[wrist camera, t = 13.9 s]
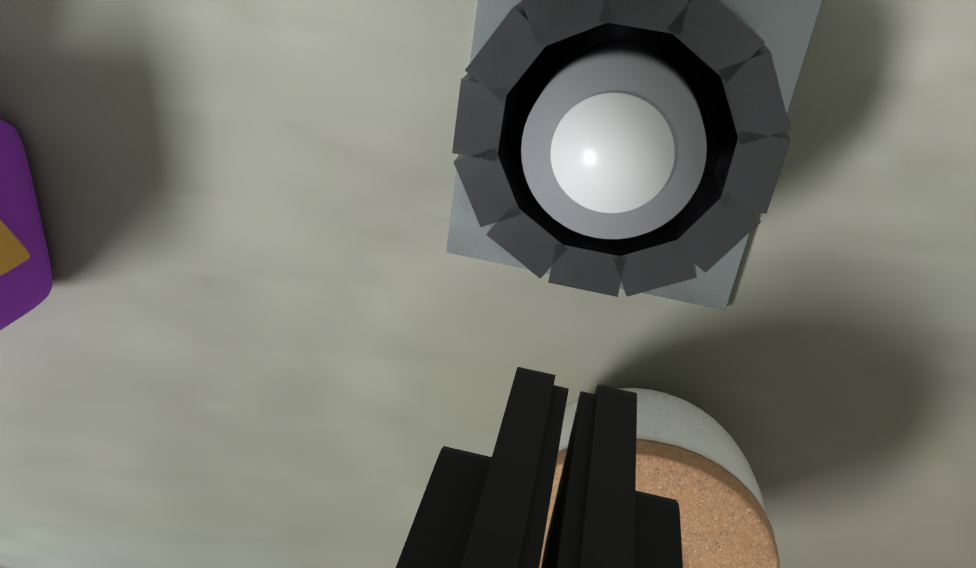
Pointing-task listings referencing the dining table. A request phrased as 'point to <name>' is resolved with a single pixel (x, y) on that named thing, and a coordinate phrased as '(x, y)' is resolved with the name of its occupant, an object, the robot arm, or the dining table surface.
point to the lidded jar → (694, 482)
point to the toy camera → (20, 233)
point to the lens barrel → (725, 114)
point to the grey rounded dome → (615, 142)
